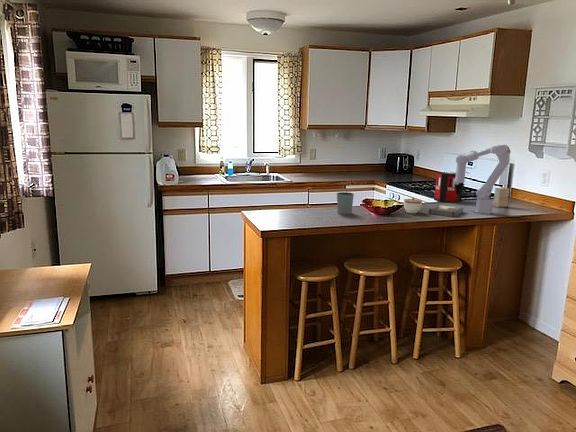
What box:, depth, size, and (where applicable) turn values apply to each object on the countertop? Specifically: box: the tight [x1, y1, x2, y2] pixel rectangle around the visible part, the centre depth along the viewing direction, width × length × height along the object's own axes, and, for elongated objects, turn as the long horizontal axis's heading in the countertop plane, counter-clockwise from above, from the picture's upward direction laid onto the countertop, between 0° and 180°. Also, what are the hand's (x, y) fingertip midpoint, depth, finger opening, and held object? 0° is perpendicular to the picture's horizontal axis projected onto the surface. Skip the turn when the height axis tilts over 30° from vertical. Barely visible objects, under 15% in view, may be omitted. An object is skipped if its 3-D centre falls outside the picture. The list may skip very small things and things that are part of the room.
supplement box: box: [492, 186, 510, 208], centre depth 326 cm, size 8×5×13 cm, turn 108°
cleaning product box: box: [433, 171, 464, 203], centre depth 342 cm, size 16×9×20 cm, turn 98°
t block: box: [438, 204, 457, 212], centre depth 297 cm, size 10×10×4 cm
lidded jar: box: [403, 197, 423, 214], centre depth 297 cm, size 11×11×9 cm
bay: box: [428, 204, 464, 218], centre depth 299 cm, size 15×20×3 cm
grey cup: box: [336, 191, 354, 215], centre depth 288 cm, size 10×10×12 cm
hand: (458, 194), depth 314 cm, fingers closed
